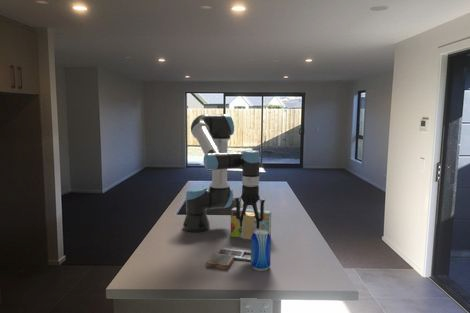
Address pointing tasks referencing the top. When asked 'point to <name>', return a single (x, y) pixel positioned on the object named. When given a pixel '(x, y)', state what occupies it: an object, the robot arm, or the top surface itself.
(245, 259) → the grey slotted plate
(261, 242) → the beer can
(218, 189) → the robot arm
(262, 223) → the snack box
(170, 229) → the top surface
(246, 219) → the brass rectangular block
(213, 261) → the pad
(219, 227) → the top surface
